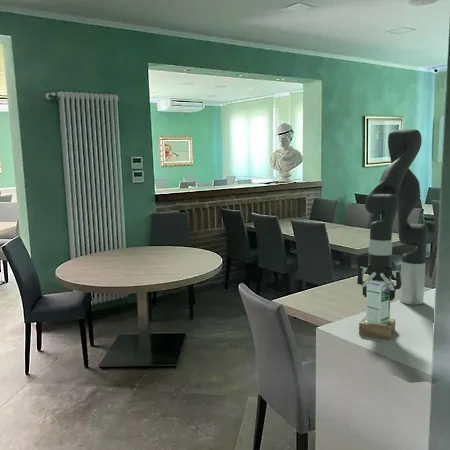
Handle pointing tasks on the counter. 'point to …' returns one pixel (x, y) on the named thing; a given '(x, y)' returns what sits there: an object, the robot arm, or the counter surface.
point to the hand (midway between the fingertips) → (378, 298)
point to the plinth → (377, 328)
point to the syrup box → (378, 301)
